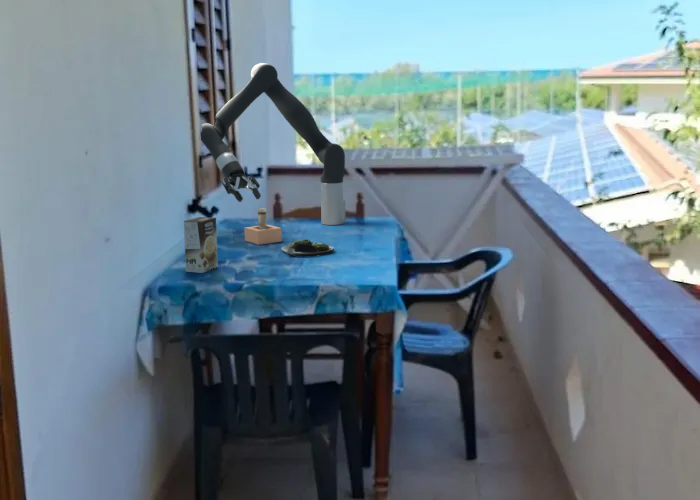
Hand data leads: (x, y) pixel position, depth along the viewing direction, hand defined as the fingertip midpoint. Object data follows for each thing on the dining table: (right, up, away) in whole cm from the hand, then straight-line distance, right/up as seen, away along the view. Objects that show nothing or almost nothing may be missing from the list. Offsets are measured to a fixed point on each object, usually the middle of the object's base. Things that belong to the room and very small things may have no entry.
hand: (250, 199), depth 295 cm
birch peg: (+5, -16, -1) cm, 16 cm away
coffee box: (-9, -25, -47) cm, 54 cm away
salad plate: (+23, -20, -22) cm, 37 cm away
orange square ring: (+5, -16, -1) cm, 16 cm away
